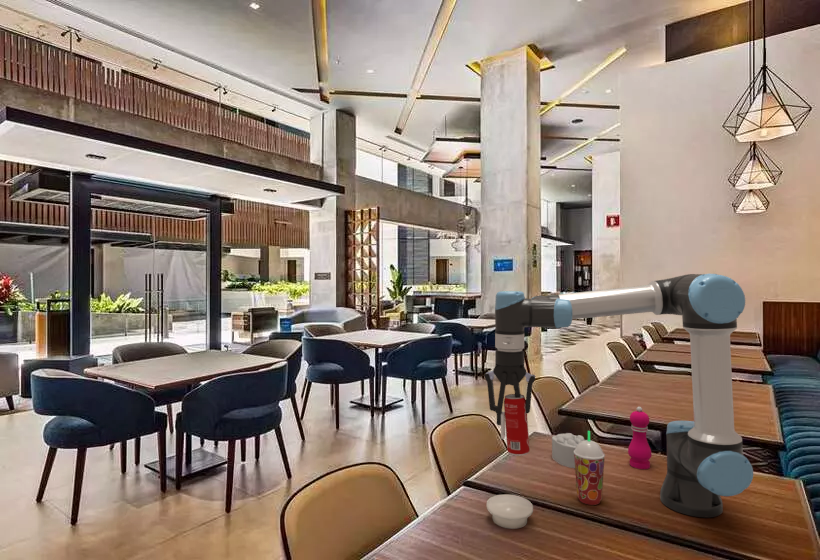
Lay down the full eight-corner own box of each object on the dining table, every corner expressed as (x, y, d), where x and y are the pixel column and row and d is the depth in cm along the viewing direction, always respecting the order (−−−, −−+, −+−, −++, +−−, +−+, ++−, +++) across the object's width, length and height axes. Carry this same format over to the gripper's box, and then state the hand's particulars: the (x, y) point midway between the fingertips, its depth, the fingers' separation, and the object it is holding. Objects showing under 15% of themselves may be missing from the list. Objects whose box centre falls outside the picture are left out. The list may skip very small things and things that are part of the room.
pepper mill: (655, 470, 159) (655, 409, 159) (633, 470, 159) (633, 409, 159) (645, 461, 166) (645, 403, 166) (624, 461, 166) (624, 403, 166)
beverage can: (531, 456, 124) (531, 398, 124) (505, 456, 124) (505, 398, 124) (527, 448, 130) (526, 392, 130) (502, 448, 130) (502, 392, 130)
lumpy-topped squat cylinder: (574, 453, 175) (574, 429, 174) (595, 467, 162) (595, 441, 162) (548, 456, 172) (548, 432, 172) (567, 470, 160) (567, 444, 160)
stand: (533, 511, 132) (533, 497, 132) (531, 534, 120) (531, 518, 120) (489, 506, 135) (489, 492, 135) (483, 527, 124) (483, 512, 124)
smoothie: (582, 491, 144) (581, 424, 144) (610, 500, 138) (609, 431, 138) (568, 500, 138) (568, 431, 138) (597, 510, 132) (596, 438, 132)
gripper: (477, 350, 126) (477, 439, 126) (540, 353, 121) (540, 445, 122) (481, 346, 133) (481, 430, 133) (541, 348, 129) (541, 436, 129)
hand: (509, 437), depth 128 cm, fingers open, 3 cm apart
